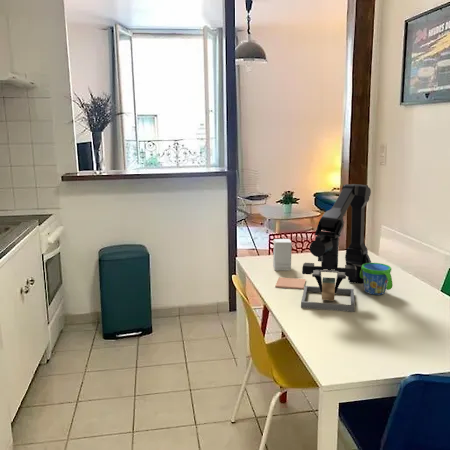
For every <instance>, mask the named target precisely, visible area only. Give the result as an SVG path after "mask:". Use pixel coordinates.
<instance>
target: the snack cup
mask: <svg viewBox="0 0 450 450" xmlns="http://www.w3.org/2000/svg"><path fill="white" fill-rule="evenodd" d="M391 273H392V267H391V266H390V265H387V264H386V263H385V264H384V263H379V262H371V263H365V264H363V265H362V267H361V271H360V278H363V279H364V284H363V288H364V291H365V292H366V293H367V294H370V295H372V296H373V295H375V296H379V295H380V296H381V295H383V294H385V293H386V291H389V290H391V289H393V278H392V274H391Z"/></svg>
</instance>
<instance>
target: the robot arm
mask: <svg viewBox="0 0 450 450" xmlns="http://www.w3.org/2000/svg"><path fill="white" fill-rule="evenodd" d="M371 194H372V190H371V188H370V187H369V185H367V184H356V183H351V184H348V183H345V184H343V185H342V187H341V191H340V193H339V195H338V196H337V198H336V201H335V202H334V204H333V206H332V207H331V208H330V209H329V210H326V211H325V212H324V213H323V214H322V216H321V218H320V219H319V221H318V224H317V227H316V229H315V230H316V231H315V233H314V236H315V239H314V240H312V242H311V243H310V245H309V251H310V253H311V255H313V256H314V257H316V258H317V261H318V262H321V263H320V265H315V262H314V263H313V262H304V263H303V264H302V267H301V268H302V269H301V272H302V274H303V275H312V278H315V280H316V282H317V284H318V287H319V288H320V291H321V294H322V280H323V277H322V273H336V274H337V275H336V278H335V295H337V294H336V292H337V289H338V288H340V287H339V286H341V285H340V284H341V283H342V281H343V280H346V279H347V280H348V283H350V284H351V283H352V284H363V285H364V279H363V278H360V271H361V267H362V265H363V264H365V263H372V261H371V258H370V256H369V254H368V253H369V252H368V247H367V246H366V244H365V242H364V241H365V240H364V239H365V238H364V237H365V234H364V233H365V210H366V209H365V207H366V205H367V204H368V203H369V201H370V197H371ZM349 207H351V229H350V231H351V232H350V244H349V245H348V247H347V248H346V249H345V257H344V259H345V265H344V267H339V243H340V237H341V236H342V235H341V233H342V230H343V229H344V224H345V222H344V216H345V214H346V213H347V210H348V209H349Z"/></svg>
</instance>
